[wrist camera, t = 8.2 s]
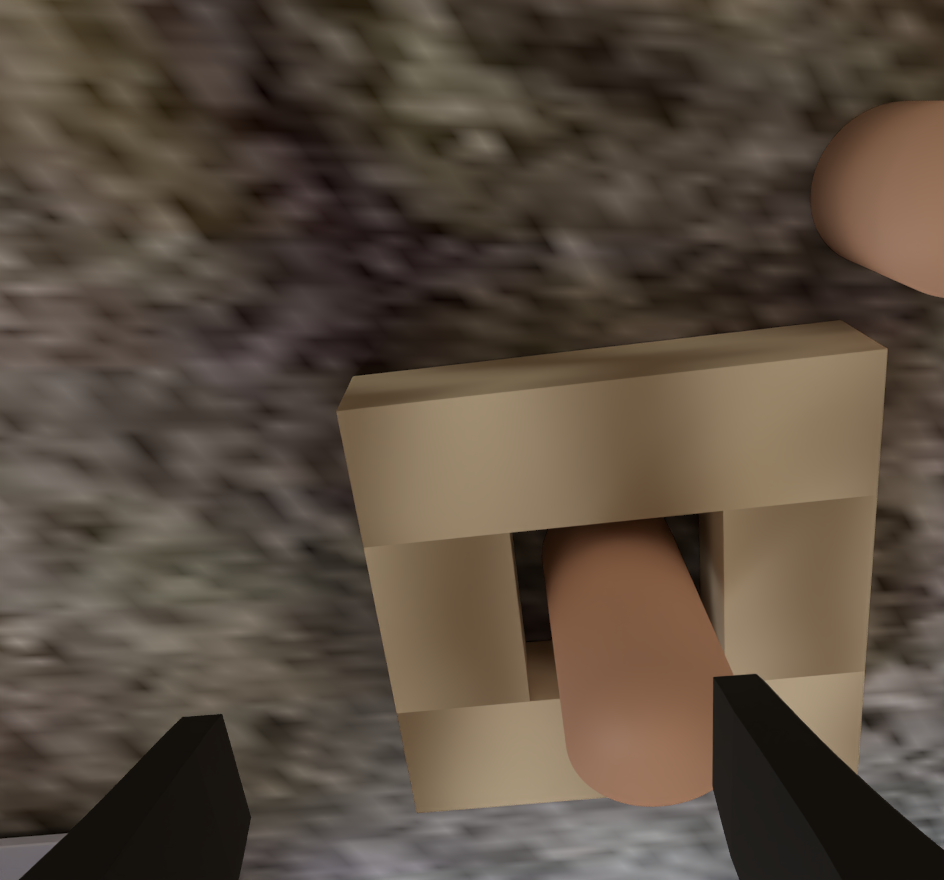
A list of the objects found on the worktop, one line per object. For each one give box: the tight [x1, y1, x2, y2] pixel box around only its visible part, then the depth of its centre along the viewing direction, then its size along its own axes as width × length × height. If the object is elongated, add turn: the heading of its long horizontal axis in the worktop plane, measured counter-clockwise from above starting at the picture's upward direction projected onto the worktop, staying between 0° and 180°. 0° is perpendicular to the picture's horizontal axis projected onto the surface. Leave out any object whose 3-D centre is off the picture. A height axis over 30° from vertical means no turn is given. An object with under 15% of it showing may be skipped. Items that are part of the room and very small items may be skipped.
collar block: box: [336, 320, 888, 813], centre depth 21 cm, size 12×12×2 cm
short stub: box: [810, 101, 944, 298], centre depth 17 cm, size 4×4×4 cm
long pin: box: [542, 517, 733, 807], centre depth 19 cm, size 4×4×7 cm
